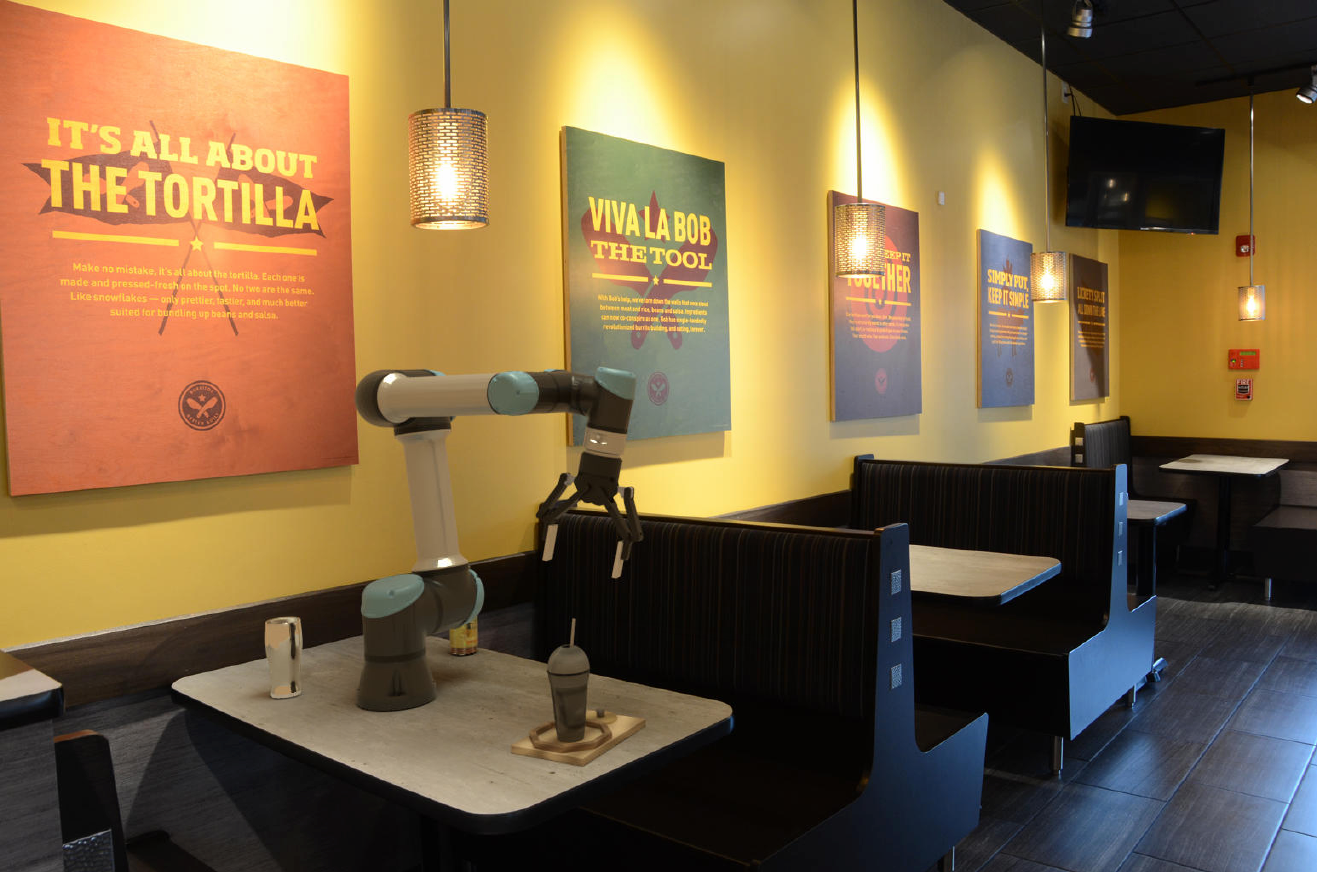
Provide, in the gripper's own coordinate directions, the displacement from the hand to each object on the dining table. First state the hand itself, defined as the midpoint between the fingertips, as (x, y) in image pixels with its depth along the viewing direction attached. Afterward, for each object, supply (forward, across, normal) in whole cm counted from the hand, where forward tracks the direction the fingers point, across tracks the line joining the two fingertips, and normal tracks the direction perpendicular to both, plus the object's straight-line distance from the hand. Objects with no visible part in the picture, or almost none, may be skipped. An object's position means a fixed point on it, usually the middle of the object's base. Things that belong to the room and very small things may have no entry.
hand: (581, 568), depth 176 cm
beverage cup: (+25, +8, -14) cm, 30 cm away
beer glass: (+40, -57, +1) cm, 69 cm away
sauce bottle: (+33, -36, +36) cm, 61 cm away
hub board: (+26, +9, -11) cm, 30 cm away
